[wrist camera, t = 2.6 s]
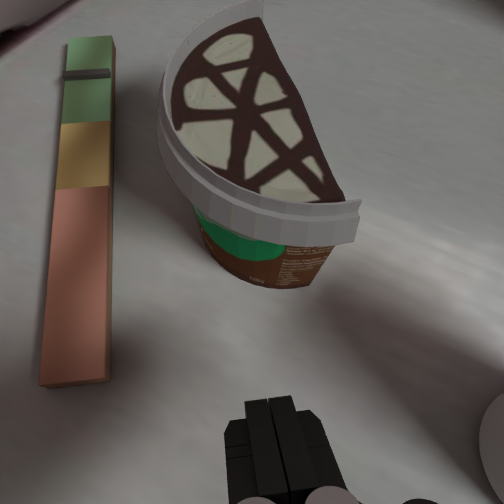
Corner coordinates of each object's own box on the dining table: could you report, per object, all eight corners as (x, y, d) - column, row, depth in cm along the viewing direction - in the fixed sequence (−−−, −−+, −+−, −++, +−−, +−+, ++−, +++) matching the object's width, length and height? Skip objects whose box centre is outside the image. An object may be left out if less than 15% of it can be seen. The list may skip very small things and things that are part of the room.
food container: (161, 158, 28) (123, 10, 19) (253, 138, 28) (259, -12, 19) (208, 341, 22) (186, 259, 13) (318, 310, 23) (368, 213, 14)
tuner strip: (115, 48, 32) (110, 30, 30) (110, 381, 21) (101, 375, 20) (73, 51, 32) (66, 33, 30) (47, 388, 21) (35, 383, 20)
